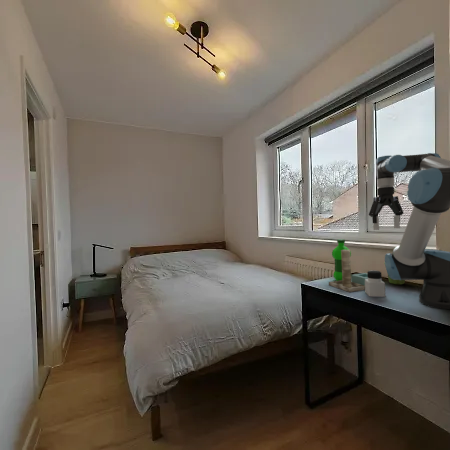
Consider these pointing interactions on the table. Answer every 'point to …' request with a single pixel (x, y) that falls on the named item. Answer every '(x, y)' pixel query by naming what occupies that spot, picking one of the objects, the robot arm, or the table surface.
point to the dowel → (346, 268)
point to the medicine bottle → (374, 284)
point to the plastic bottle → (339, 258)
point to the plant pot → (395, 280)
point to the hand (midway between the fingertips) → (386, 229)
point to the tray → (354, 287)
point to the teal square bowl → (359, 278)
